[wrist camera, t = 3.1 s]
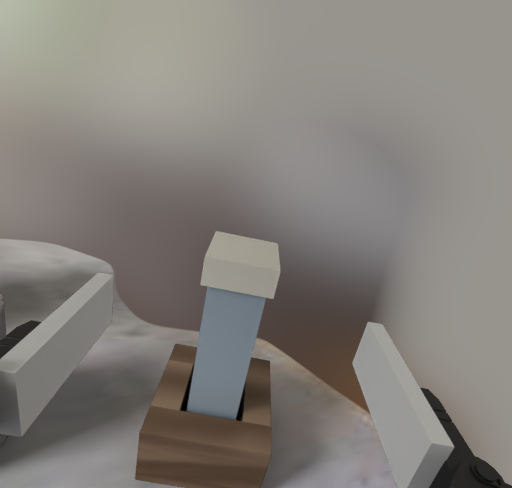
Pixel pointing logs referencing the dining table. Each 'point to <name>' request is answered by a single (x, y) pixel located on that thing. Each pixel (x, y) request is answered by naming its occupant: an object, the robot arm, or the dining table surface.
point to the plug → (230, 320)
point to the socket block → (205, 432)
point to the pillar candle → (0, 334)
